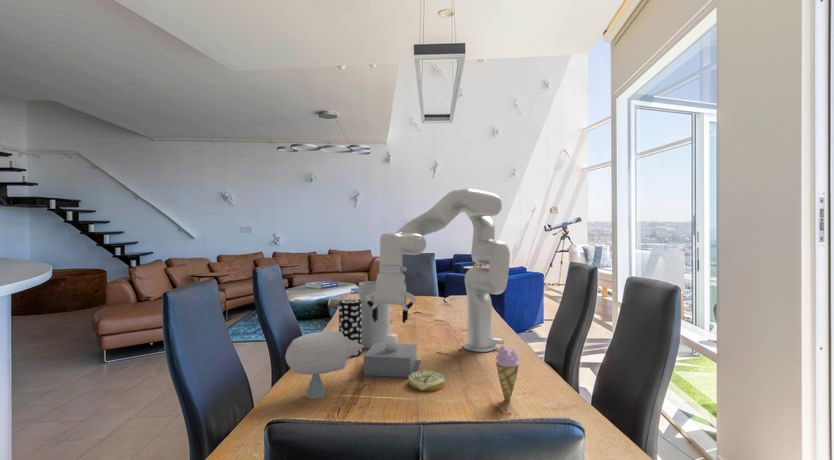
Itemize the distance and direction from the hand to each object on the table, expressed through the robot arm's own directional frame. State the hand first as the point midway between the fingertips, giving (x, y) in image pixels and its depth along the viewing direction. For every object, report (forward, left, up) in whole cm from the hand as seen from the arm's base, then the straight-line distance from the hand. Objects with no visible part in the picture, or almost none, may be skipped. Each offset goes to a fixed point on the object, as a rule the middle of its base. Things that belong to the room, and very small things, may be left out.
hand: (389, 321), depth 133 cm
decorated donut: (-13, +13, -17) cm, 25 cm away
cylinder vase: (+12, -27, -16) cm, 34 cm away
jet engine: (+15, +22, -16) cm, 31 cm away
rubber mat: (0, 0, -16) cm, 16 cm away
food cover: (0, 0, -16) cm, 16 cm away
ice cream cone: (-36, +20, -16) cm, 44 cm away
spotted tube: (+18, -13, -16) cm, 27 cm away
